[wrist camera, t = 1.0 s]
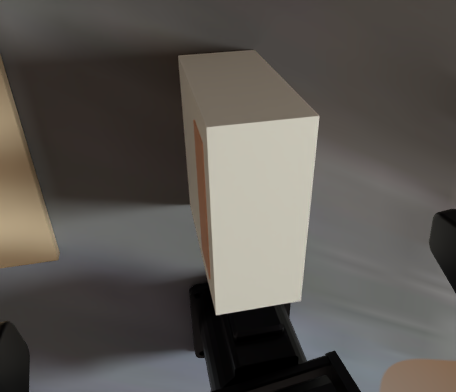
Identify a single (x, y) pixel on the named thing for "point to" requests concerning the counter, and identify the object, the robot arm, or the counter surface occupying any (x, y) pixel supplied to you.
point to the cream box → (247, 177)
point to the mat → (20, 193)
